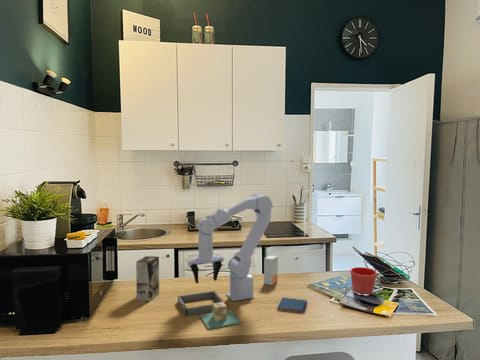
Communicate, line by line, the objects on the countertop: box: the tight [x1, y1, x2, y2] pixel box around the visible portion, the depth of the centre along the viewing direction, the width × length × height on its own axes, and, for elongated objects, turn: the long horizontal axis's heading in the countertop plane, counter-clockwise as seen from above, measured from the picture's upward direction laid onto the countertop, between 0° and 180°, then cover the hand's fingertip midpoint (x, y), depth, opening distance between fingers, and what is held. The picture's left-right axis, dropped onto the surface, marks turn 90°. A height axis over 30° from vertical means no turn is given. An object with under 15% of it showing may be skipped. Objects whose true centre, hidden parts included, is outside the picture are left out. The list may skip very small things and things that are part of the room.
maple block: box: [211, 302, 227, 321], centre depth 133 cm, size 4×4×5 cm
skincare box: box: [263, 255, 279, 286], centre depth 171 cm, size 6×4×12 cm
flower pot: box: [350, 266, 377, 295], centre depth 158 cm, size 11×11×10 cm
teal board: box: [199, 309, 242, 330], centre depth 133 cm, size 12×11×1 cm
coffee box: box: [135, 255, 160, 302], centre depth 154 cm, size 9×6×16 cm
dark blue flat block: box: [276, 297, 308, 314], centre depth 144 cm, size 10×11×2 cm
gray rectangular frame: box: [177, 290, 226, 317], centre depth 145 cm, size 16×14×2 cm
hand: (205, 281), depth 149 cm, fingers open, 7 cm apart
